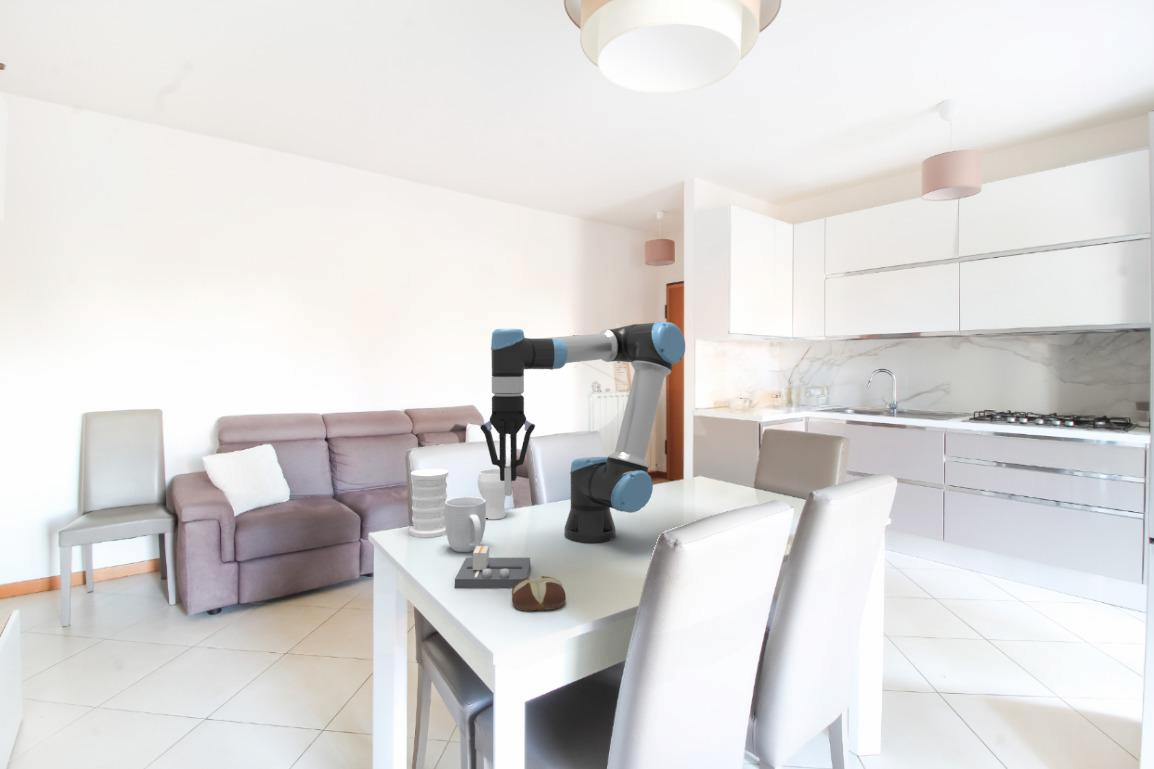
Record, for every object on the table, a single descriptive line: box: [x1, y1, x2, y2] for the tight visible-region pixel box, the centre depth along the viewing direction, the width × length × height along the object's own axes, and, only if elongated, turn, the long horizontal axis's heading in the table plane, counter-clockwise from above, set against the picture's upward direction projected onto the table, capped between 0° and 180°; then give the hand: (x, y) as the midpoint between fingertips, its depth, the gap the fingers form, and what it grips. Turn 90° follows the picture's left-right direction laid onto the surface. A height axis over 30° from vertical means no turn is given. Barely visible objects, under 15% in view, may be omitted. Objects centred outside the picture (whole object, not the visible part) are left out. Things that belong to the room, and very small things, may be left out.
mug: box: [445, 496, 487, 553], centre depth 149 cm, size 15×11×13 cm
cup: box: [477, 468, 507, 520], centre depth 182 cm, size 11×11×15 cm
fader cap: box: [472, 545, 490, 570], centre depth 131 cm, size 3×5×4 cm, turn 1°
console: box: [454, 557, 531, 589], centre depth 131 cm, size 16×14×4 cm
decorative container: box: [409, 468, 449, 539], centre depth 165 cm, size 12×12×18 cm
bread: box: [511, 575, 566, 611], centre depth 117 cm, size 11×11×5 cm
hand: (508, 494), depth 130 cm, fingers closed
